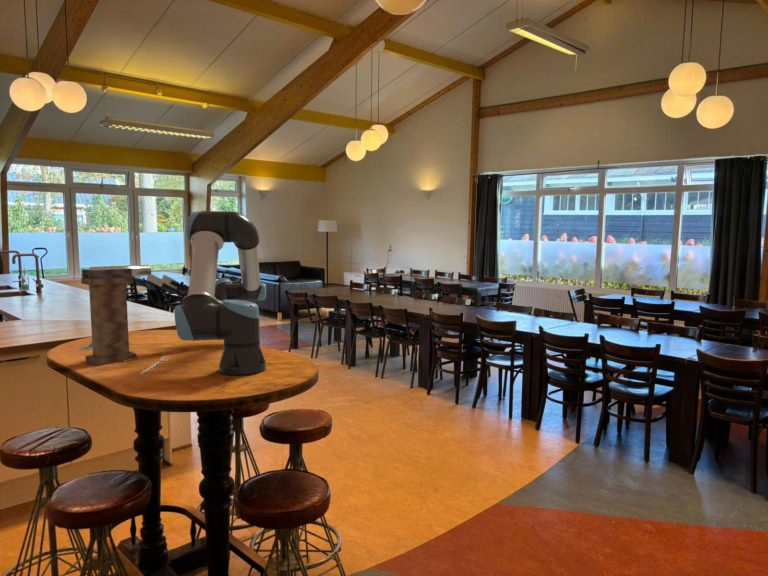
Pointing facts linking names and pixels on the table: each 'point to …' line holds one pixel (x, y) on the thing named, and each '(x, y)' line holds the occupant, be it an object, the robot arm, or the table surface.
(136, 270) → the chrome rounded rod
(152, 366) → the fork
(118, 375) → the table surface
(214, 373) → the table surface
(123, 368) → the table surface
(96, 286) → the walnut stand
